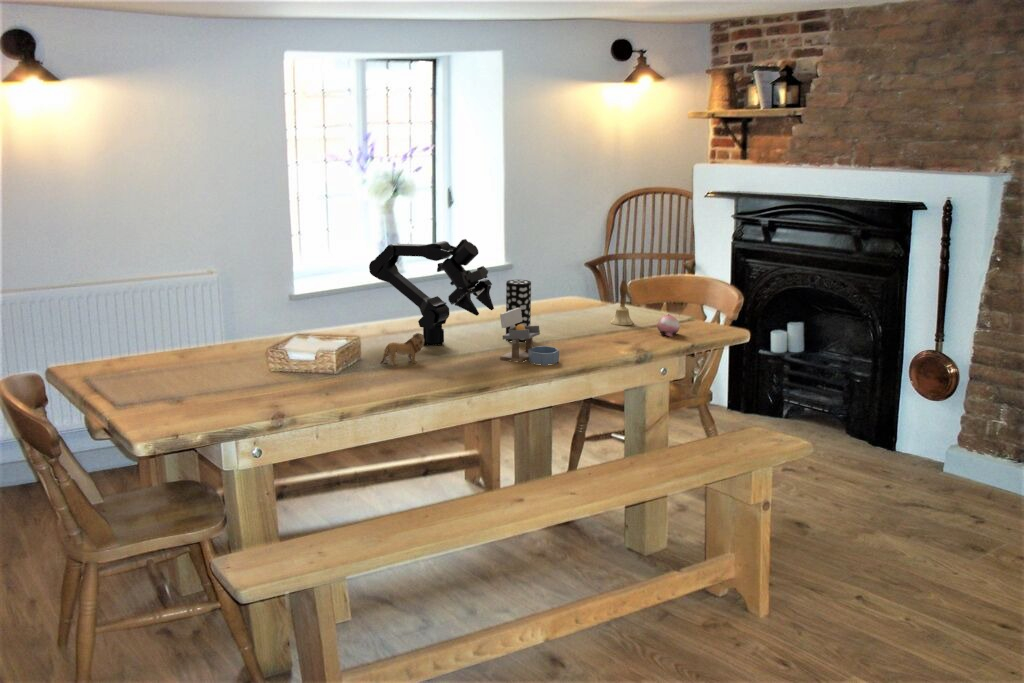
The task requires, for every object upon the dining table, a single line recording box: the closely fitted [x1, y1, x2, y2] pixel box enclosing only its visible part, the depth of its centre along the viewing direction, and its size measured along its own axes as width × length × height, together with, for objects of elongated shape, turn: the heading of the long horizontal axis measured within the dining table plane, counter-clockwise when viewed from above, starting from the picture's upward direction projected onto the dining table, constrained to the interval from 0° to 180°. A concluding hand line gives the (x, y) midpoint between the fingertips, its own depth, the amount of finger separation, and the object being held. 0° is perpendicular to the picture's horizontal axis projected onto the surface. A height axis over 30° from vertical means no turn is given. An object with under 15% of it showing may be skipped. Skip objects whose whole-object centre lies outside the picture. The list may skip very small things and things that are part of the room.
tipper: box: [499, 308, 541, 340], centre depth 343 cm, size 10×11×8 cm
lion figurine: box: [379, 332, 425, 366], centre depth 338 cm, size 15×5×9 cm, turn 116°
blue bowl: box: [527, 345, 560, 366], centre depth 341 cm, size 9×9×4 cm
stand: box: [499, 337, 534, 363], centre depth 345 cm, size 8×11×7 cm
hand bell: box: [610, 279, 634, 326], centre depth 392 cm, size 8×8×16 cm
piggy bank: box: [656, 313, 681, 338], centre depth 377 cm, size 8×8×7 cm
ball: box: [515, 324, 525, 330], centre depth 344 cm, size 3×3×3 cm
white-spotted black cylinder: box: [505, 279, 532, 343], centre depth 366 cm, size 8×8×20 cm
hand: (485, 312), depth 349 cm, fingers open, 9 cm apart
